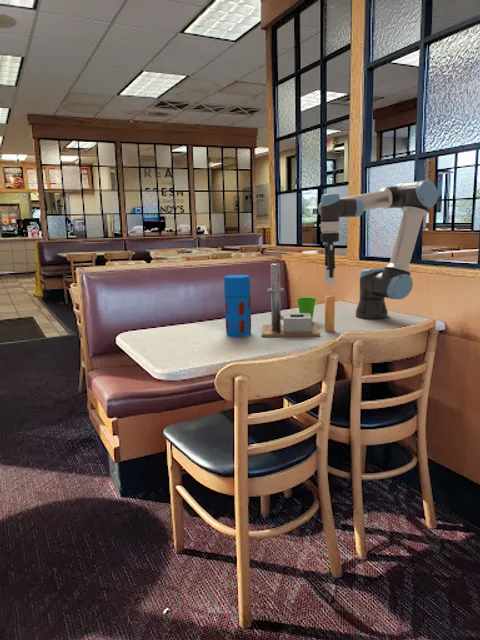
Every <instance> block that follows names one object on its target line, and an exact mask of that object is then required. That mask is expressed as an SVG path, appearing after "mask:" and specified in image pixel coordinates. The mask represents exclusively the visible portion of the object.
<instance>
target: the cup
mask: <svg viewBox="0 0 480 640" xmlns="http://www.w3.org/2000/svg"><path fill="white" fill-rule="evenodd" d="M296 300H297V305H298V313H310V315H311V318H312V319H313V317H314V312H315V311H314V310H315V305H316V300H317V297H313V296H312V297H310V296H304V297H297V298H296Z"/></svg>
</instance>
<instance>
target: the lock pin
mask: <svg viewBox="0 0 480 640" xmlns="http://www.w3.org/2000/svg"><path fill="white" fill-rule="evenodd" d="M335 298H336V297H335V295H325V297H324V332H326V333H332V332H335V317H336V316H335V313H336V312H335V306H336V305H335V304H336V302H335V301H336V299H335Z"/></svg>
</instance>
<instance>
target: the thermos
mask: <svg viewBox="0 0 480 640" xmlns="http://www.w3.org/2000/svg"><path fill="white" fill-rule="evenodd" d="M223 287H224V288H223V289H224V291H223V292H224V313H225V316H224V317H225V332H226V333H225V334H226V336H227V337H229V336H230V337H231V338H247V337H249V336H251V334H252V313H251V312H252V310H251V309H252V308H251V307H252V305H251V279H250V275H247V274H231V275H229V274H228V275H226V276H224V279H223ZM230 337H229V338H230Z"/></svg>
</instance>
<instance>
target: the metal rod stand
mask: <svg viewBox="0 0 480 640" xmlns="http://www.w3.org/2000/svg"><path fill="white" fill-rule="evenodd" d="M284 291H285V288H283V287H281V263H270V287H269V288H267V293H270V302H271V303H270V306H271V307H270V308H271V309H270V311H271V316H270V317H271V324H262V329H261V338H289V337H290V338H300V337H301V338H303V337H305V338H306V337H309V338H310V337H313V338H314V337H318V338H319V337H320V335H321V334H320V331H319V328H318V324H317V323H314V324H313V323H312V322H313V318H311V315H310V313H300V312H295V313H294V312H291V313H290V312H289V313H288V312H287V313H283V314H282V313H281V311H282V310H281V293H284ZM281 321H283V324H282V322H281Z"/></svg>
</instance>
